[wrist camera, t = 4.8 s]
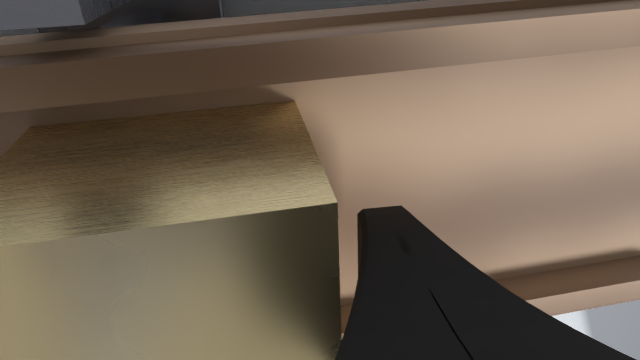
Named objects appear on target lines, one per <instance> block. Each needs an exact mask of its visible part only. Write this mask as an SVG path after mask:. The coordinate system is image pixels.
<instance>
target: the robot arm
mask: <svg viewBox="0 0 640 360" xmlns="http://www.w3.org/2000/svg"><path fill="white" fill-rule="evenodd" d="M357 237H358V280H357V285H356V290H355V295H354V300H353V304H352V308H351V311H350V315H349V319H348V322H347V325H346V328H345V332H344V335H343V338H342V341H341V344H340V346H339V349H338V352H337V355H336V357H335V360H636V359H634V358H632V357H629V356H627V355H625V354H623V353H621V352H619V351H617V350H615V349H613V348H611V347H609V346H607V345H605V344H603V343H601V342H599V341H597V340H595V339H593V338H591V337H589V336H587V335H585V334H583V333H581V332H579V331H577V330H575V329H573V328H572V327H570V326H568V325H566V324H564V323H562V322H561V321H559V320H557V319H555V318H553V317H552V316H550V315H548V314H547V313H545V312H543V311H542V310H540V309H538V308H537V307H535V306H533V305H532V304H530V303H528V302H527V301H525V300H523V299H522V298H520V297H519V296H517V295H515V294H514V293H512V292H511V291H509V290H508V289H506V288H505V287H503V286H502V285H500V284H499V283H498V282H496V281H495V280H493V279H492V278H490V277H489V276H488V275H486V274H485V273H483V272H482V271H481V270H479V269H478V268H476V267H475V266H474V265H472V264H471V263H470V262H468V261H467V260H466V259H465V258H463V257H462V256H461V255H459V254H458V253H457V252H456V251H454V250H453V249H452V248H451V247H449V246H448V245H447V244H446V243H445V242H443V241H442V240H441V239H440V238H439V237H437V236H436V235H435V234H434V233H433V232H432V231H430V230H429V229H428V228H427V227H426V226H425V225H424V224H422V223H421V222H420V221H419V220H418V219H417V218H415V217H414V216H413V215H412V214H411V213H410V212H409V211H408V210H406V209H405V208H404V207H403V206H402V205H400V206H389V207H378V208H367V209H362V210H361V211H360V212H359V213H358V214H357Z"/></svg>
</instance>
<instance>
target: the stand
mask: <svg viewBox="0 0 640 360" xmlns="http://www.w3.org/2000/svg"><path fill="white" fill-rule="evenodd" d="M214 18H224V17H223V10H222V3H221V0H0V31H1V30H15V29H30V28H38V30H39V33H48V32H60V31H72V30H84V29H95V28H107V27H119V26H131V25H143V24H155V23H167V22H179V21H190V20H202V19H214Z"/></svg>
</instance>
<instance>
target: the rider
mask: <svg viewBox="0 0 640 360" xmlns="http://www.w3.org/2000/svg"><path fill="white" fill-rule="evenodd" d="M341 341H342V334H341V300H340V266H339V233H338V202H337V200H336V197H335V195H334V193H333V190H332V188H331V185H330V183H329V181H328V178H327V176H326V174H325V171H324V169H323V166H322V164H321V162H320V159H319V157H318V154H317V152H316V150H315V147H314V145H313V142H312V140H311V138H310V135H309V133H308V130H307V128H306V126H305V123H304V121H303V118H302V116H301V114H300V111H299V109H298V106H297V104H296V102H295V100H292V101H282V102H272V103H262V104H252V105H242V106H232V107H222V108H212V109H202V110H192V111H182V112H172V113H162V114H152V115H142V116H132V117H122V118H112V119H102V120H92V121H82V122H72V123H62V124H52V125H42V126H33V127H29V128H28V129H27V131H26V132H25V133H24V134H23V135H22V136H21V137H20V138H19V139H18V140H17V141H16V142H15V143H14V144H13V145H12V146H11V147H10V148H9V149H8V150H7V151H6V152H5V153H4V154H3V155H2V156H1V157H0V360H335V357H336V355H337V352H338V349H339V346H340V344H341Z"/></svg>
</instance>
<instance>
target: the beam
mask: <svg viewBox="0 0 640 360" xmlns="http://www.w3.org/2000/svg"><path fill="white" fill-rule="evenodd" d="M292 100H295V102H296V104H297V106H298V109H299V111H300V114H301V116H302V118H303V121H304V123H305V126H306V128H307V130H308V133H309V135H310V138H311V140H312V142H313V145H314V147H315V150H316V152H317V154H318V157H319V159H320V162H321V164H322V166H323V169H324V171H325V174H326V176H327V178H328V181H329V183H330V185H331V188H332V190H333V193H334V195H335V197H336V200H337V202H338V233H339V266H340V300H341V334H342V338H343V335H344V332H345V328H346V325H347V322H348V319H349V315H350V311H351V308H352V304H353V300H354V295H355V290H356V285H357V280H358V237H357V214H358V213H359V212H360V211H361V210H362V209H367V208H378V207H389V206H400V205H402V206H403V207H404V208H405V209H406V210H408V211H409V212H410V213H411V214H412V215H413V216H414V217H415V218H417V219H418V220H419V221H420V222H421V223H422V224H424V225H425V226H426V227H427V228H428V229H429V230H430V231H432V232H433V233H434V234H435V235H436V236H437V237H439V238H440V239H441V240H442V241H443V242H445V243H446V244H447V245H448V246H449V247H451V248H452V249H453V250H454V251H456V252H457V253H458V254H459V255H461V256H462V257H463V258H465V259H466V260H467V261H468V262H470V263H471V264H472V265H474V266H475V267H476V268H478V269H479V270H481V271H482V272H483V273H485V274H486V275H488V276H489V277H490V278H492V279H493V280H495V281H496V282H498V283H499V284H500V285H502V286H503V287H505V288H506V289H508V290H509V291H511V292H512V293H514V294H515V295H517V296H519V297H520V298H522V299H523V300H525V301H527V302H528V303H530V304H532V305H533V306H535V307H537V308H538V309H540V310H542V311H543V312H545V313H547V314H548V315H550V316H553V315H558V314H564V313H569V312H575V311H580V310H585V309H591V308H596V307H601V306H607V305H613V304H618V303H623V302H629V301H634V300H640V0H428V1H416V2H404V3H392V4H380V5H369V6H357V7H345V8H333V9H321V10H309V11H297V12H285V13H274V14H262V15H250V16H238V17H226V18H214V19H202V20H190V21H179V22H167V23H155V24H143V25H131V26H119V27H107V28H95V29H84V30H72V31H60V32H48V33H36V34H24V35H12V36H0V157H1V156H2V155H3V154H4V153H5V152H6V151H7V150H8V149H9V148H10V147H11V146H12V145H13V144H14V143H15V142H16V141H17V140H18V139H19V138H20V137H21V136H22V135H23V134H24V133H25V132H26V131H27V129H28V128H29V127H33V126H42V125H52V124H62V123H72V122H82V121H92V120H102V119H112V118H122V117H132V116H142V115H152V114H162V113H172V112H182V111H192V110H202V109H212V108H222V107H232V106H242V105H252V104H262V103H272V102H282V101H292Z"/></svg>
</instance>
